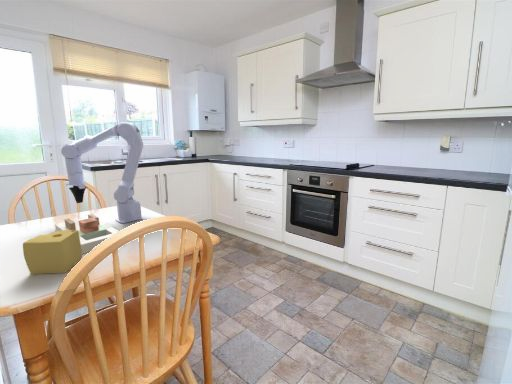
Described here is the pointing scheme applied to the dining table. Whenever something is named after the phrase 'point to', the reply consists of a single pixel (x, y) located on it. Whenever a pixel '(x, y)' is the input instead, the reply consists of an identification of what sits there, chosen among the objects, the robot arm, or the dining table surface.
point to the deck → (91, 238)
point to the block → (88, 225)
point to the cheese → (52, 252)
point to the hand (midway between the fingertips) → (79, 202)
